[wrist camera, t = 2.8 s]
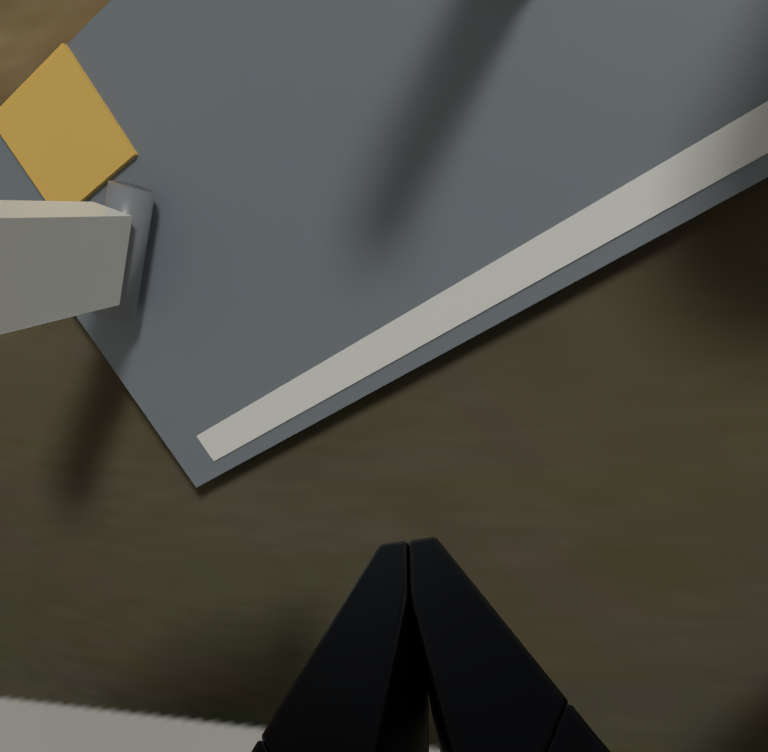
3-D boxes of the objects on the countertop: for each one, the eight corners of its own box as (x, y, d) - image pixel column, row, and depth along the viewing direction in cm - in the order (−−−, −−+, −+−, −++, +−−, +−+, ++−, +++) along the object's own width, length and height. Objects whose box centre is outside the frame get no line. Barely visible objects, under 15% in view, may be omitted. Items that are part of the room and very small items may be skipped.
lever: (165, 195, 18) (-123, 183, 10) (145, 316, 20) (-120, 395, 11) (125, 181, 18) (-192, 157, 10) (108, 302, 20) (-180, 371, 11)
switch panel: (869, 113, 15) (904, 104, 14) (211, 474, 23) (193, 489, 22) (621, -466, 13) (635, -544, 12) (-10, 155, 21) (-45, 151, 20)
